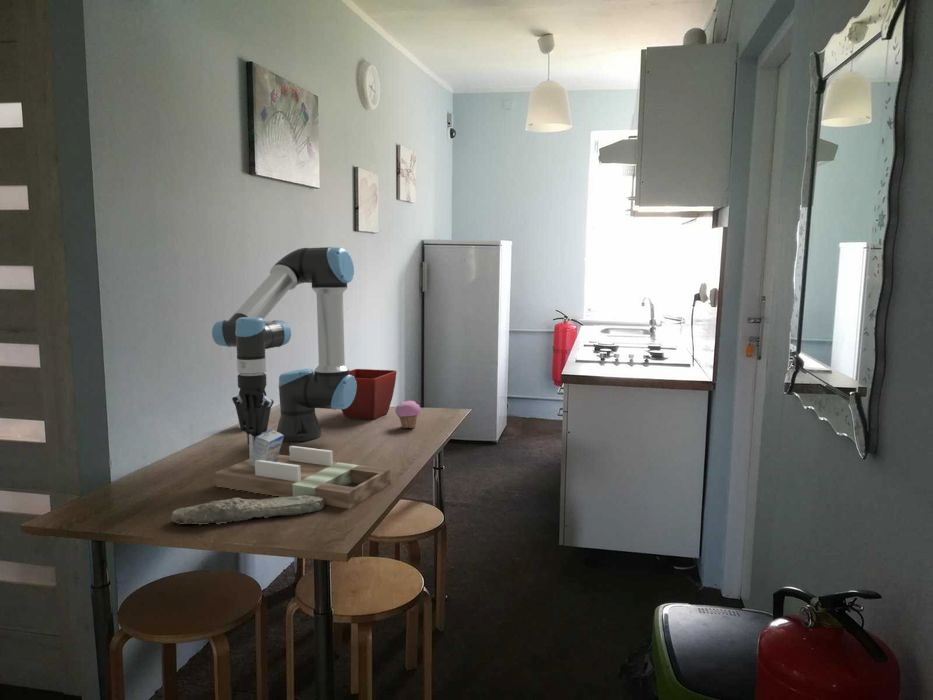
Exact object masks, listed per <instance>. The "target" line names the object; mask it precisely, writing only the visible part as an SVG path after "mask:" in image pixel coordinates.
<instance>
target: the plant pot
mask: <svg viewBox="0 0 933 700" xmlns="http://www.w3.org/2000/svg"><path fill="white" fill-rule="evenodd" d="M397 372H398V371H397V370H392V369H391V370H390V369H370V368H369V369H368V368H355V369H352V370H351V369H350V370H349V375H352V376H354V377H355V380H356V383H357V389H356V395H355V398H354V400H353V402H352V404H351V405H350V406H349V407H348V408H346V409H340V410H341V413H342V414H343V416H344V418H345V417H349V418H348V419H355V418H359V419H358V420H370V419H371V420H372V421H373V420H375V419H377V418H380V417H382V416H383V415H386V414H388V413H389V410H390V407H391V403H392V400H393V396H394V391H395V388H396V387H395V386H396V379H397ZM379 416H380V417H379Z"/></svg>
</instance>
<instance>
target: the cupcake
mask: <svg viewBox="0 0 933 700" xmlns="http://www.w3.org/2000/svg"><path fill="white" fill-rule="evenodd" d="M395 407H396V408H395V414H396V416H397V417H398V418H399V420H400V425H401V427H402V428H403V429H404V428H405V429H408V428H409V429H414V428H415V427H416V425H417V418H418V415H420V413H421V406H420V404H419V403H416V401H415V400H404V401H401V402H400V403H399V404H397V405H396V406H395Z"/></svg>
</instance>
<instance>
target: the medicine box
mask: <svg viewBox="0 0 933 700" xmlns="http://www.w3.org/2000/svg"><path fill="white" fill-rule="evenodd" d="M276 431H277V430H274V429H270V430H267V431H266V432H263V433H261V435H259V436H257V437H256V438H255V441H254V445H253V449H252V452H251V456H250V455H249V458H248V459H249V463H248V464H250V465H252V466H254V467H255V460H265V461H272V462H276V461H277V458H278V455H280V450H281V447H282V444H283V442H284V441H283V438H284V435H283V434H281V433H279V432H276Z"/></svg>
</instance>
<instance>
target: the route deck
mask: <svg viewBox="0 0 933 700" xmlns="http://www.w3.org/2000/svg"><path fill="white" fill-rule="evenodd" d="M249 459H250V458H248V459H245V460H243V461H241V462H238V463H236V464H234V465H230V466H228V467H225V468H222V469H221V470H218V471H214V482H215V487H216V486H222V487H227V488H233V489H239V490H245V491H252V492H258V493H264V494H269V495H274V496H279V497H294V496H302V495H309V496H320V497H322V498H324V502H325V503H324V506H329V505H330V506H331V507H337V508H342V509H348V510H349V509H351V508H353V507H355V506H356V505H358V504H360V503H361V502H363V501H364V500H367V499H368V498H369V497H371V496H373V495H374V494H376V493H377V491H378V492H379V491H381V490H382V488H383V489H384V488H386V487H387V486H390V484H392V482H391V480H392V478H391V477H392V475H391V469H390V468H382V467H375V466H370V465H369V466H368V465H361V464H353V463H346V462H338V461H333V465H332V466H328V465H320V464H313V463H305V462H298V461H291V460H290V455H286V454H279V455H278V458H277V461H276V462H279V463H287V464H294V465H300V470H301V481H299V482H296V481H290V480H283V479H277V478H270V477H263V476H257V475H255V467H254V466H252V465H250V464H248V463H249ZM385 486H386V487H385ZM380 489H381V490H380ZM372 494H373V495H372ZM274 496H273V497H274Z"/></svg>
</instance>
